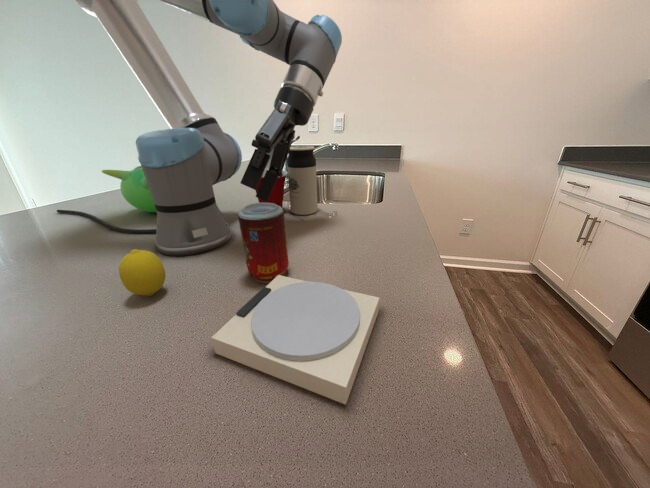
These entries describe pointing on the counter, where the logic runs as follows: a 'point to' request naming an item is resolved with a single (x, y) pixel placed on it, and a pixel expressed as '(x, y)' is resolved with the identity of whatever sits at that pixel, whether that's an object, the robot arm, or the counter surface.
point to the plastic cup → (275, 189)
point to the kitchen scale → (302, 334)
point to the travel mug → (302, 180)
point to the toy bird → (134, 188)
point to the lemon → (142, 272)
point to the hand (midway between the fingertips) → (255, 193)
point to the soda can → (264, 240)
